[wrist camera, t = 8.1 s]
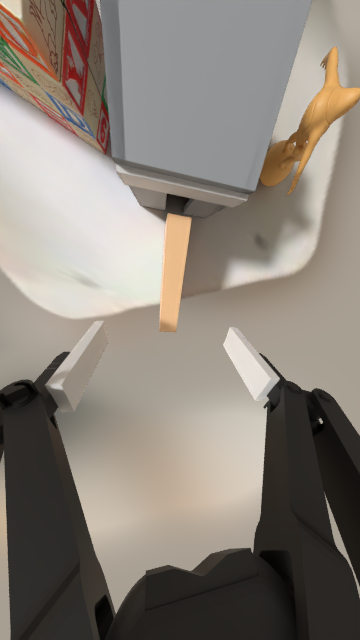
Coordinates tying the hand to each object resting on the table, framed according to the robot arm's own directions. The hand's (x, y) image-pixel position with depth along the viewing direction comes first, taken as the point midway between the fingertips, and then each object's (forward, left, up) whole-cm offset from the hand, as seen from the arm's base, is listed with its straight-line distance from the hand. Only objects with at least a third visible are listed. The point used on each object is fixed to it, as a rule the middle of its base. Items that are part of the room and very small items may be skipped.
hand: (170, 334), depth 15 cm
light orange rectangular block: (-4, 0, -14) cm, 14 cm away
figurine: (-19, +12, -14) cm, 27 cm away
